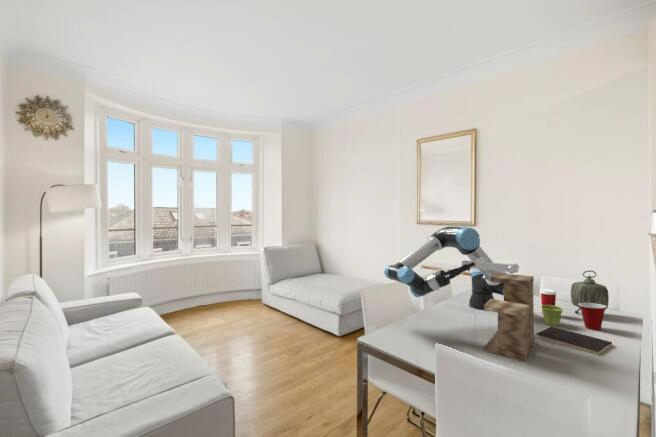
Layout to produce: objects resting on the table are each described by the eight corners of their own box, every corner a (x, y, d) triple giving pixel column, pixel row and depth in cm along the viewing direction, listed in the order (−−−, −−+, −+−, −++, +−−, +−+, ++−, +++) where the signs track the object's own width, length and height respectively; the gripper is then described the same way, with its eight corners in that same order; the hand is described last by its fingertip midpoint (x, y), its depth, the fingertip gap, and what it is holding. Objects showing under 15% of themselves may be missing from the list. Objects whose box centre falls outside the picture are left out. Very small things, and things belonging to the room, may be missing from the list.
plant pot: (567, 327, 155) (567, 310, 155) (546, 327, 157) (546, 310, 157) (557, 321, 165) (557, 305, 164) (537, 320, 166) (537, 304, 166)
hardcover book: (598, 356, 126) (598, 351, 126) (536, 338, 146) (536, 333, 146) (612, 346, 135) (612, 341, 135) (551, 330, 154) (551, 325, 154)
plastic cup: (593, 323, 160) (592, 300, 160) (613, 331, 149) (612, 307, 149) (572, 324, 159) (572, 301, 159) (591, 332, 149) (591, 308, 148)
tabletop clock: (598, 312, 176) (597, 269, 175) (611, 318, 167) (610, 272, 166) (570, 312, 177) (570, 269, 177) (582, 317, 168) (581, 272, 168)
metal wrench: (460, 268, 141) (459, 262, 141) (465, 265, 147) (465, 259, 147) (515, 273, 126) (515, 266, 126) (519, 270, 132) (519, 264, 132)
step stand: (484, 350, 133) (483, 281, 132) (497, 334, 150) (496, 272, 150) (525, 361, 123) (524, 286, 122) (534, 341, 140) (533, 276, 140)
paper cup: (551, 312, 178) (551, 288, 178) (560, 317, 170) (559, 292, 170) (537, 312, 179) (536, 288, 178) (545, 317, 171) (544, 292, 171)
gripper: (448, 283, 157) (492, 264, 143) (436, 290, 145) (482, 270, 131) (441, 270, 159) (483, 250, 145) (428, 275, 147) (472, 254, 133)
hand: (482, 259), depth 138 cm, fingers closed on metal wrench, 3 cm apart
